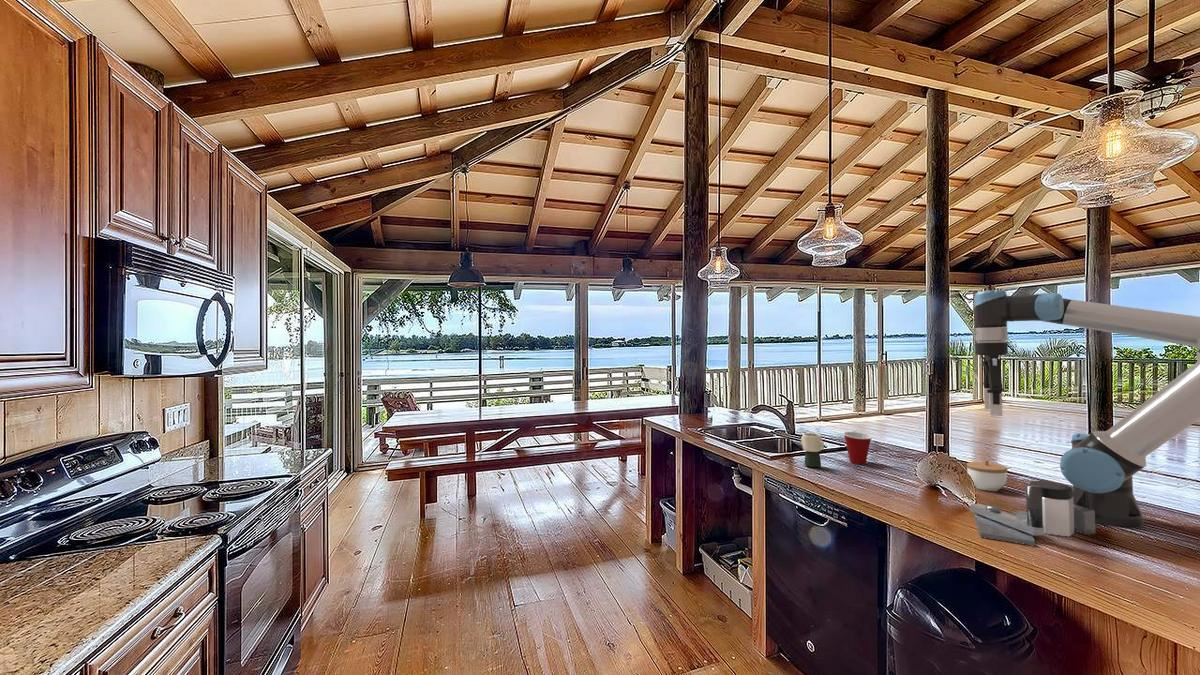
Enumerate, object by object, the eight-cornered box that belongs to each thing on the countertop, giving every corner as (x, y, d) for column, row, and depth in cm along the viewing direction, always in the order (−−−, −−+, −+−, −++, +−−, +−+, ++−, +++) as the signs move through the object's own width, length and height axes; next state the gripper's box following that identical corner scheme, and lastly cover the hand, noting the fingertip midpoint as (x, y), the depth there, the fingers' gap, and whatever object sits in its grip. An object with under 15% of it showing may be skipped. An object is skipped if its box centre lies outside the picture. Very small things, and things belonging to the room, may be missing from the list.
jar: (1084, 536, 121) (1083, 489, 121) (1054, 538, 121) (1053, 490, 121) (1049, 523, 130) (1048, 479, 130) (1021, 524, 130) (1019, 480, 130)
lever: (970, 511, 136) (969, 469, 136) (986, 509, 137) (984, 468, 137) (1035, 536, 118) (1034, 488, 119) (1053, 534, 119) (1052, 487, 119)
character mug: (830, 468, 189) (829, 436, 189) (817, 471, 186) (816, 437, 186) (808, 462, 199) (807, 431, 199) (795, 464, 196) (794, 433, 196)
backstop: (1061, 522, 131) (1060, 500, 131) (1095, 533, 123) (1094, 510, 123) (1052, 523, 130) (1051, 501, 130) (1085, 534, 122) (1084, 511, 122)
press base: (1019, 518, 134) (1019, 514, 134) (1035, 546, 116) (1035, 541, 116) (972, 511, 140) (972, 507, 140) (980, 537, 122) (980, 532, 122)
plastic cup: (868, 467, 189) (867, 437, 189) (839, 463, 197) (838, 434, 197) (877, 462, 196) (876, 433, 196) (849, 458, 204) (848, 430, 204)
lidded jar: (962, 488, 162) (962, 460, 162) (972, 481, 168) (971, 455, 168) (1003, 495, 153) (1002, 466, 153) (1011, 488, 160) (1011, 461, 160)
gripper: (971, 341, 155) (973, 406, 155) (979, 342, 135) (981, 417, 134) (1001, 341, 151) (1003, 407, 151) (1014, 342, 130) (1016, 419, 130)
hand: (993, 412), depth 143 cm, fingers open, 13 cm apart
